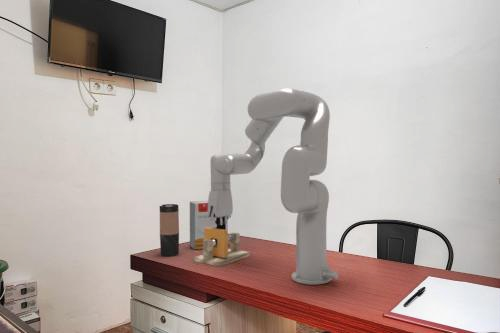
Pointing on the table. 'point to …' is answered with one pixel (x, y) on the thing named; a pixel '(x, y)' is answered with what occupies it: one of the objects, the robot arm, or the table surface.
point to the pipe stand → (233, 256)
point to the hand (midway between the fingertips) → (221, 234)
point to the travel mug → (169, 230)
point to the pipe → (230, 238)
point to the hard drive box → (199, 223)
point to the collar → (218, 240)
